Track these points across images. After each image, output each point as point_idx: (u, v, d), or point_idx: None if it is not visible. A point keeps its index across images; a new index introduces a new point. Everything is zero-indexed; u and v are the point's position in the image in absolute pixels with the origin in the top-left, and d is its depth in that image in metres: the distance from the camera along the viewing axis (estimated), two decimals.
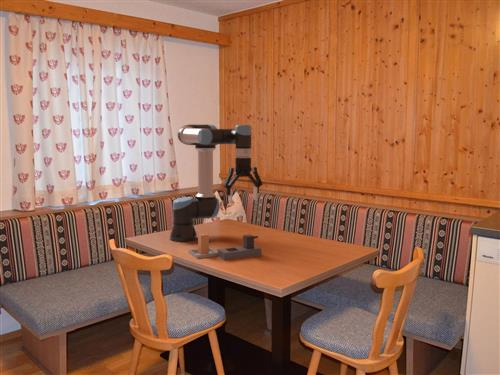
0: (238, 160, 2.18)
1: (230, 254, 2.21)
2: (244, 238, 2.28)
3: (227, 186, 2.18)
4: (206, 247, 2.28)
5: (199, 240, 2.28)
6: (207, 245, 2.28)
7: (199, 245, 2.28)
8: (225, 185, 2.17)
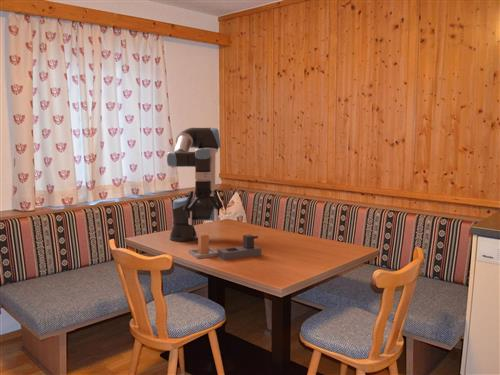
0: (197, 183, 2.22)
1: (230, 254, 2.21)
2: (244, 238, 2.28)
3: (187, 209, 2.22)
4: (206, 247, 2.28)
5: (199, 240, 2.28)
6: (207, 245, 2.28)
7: (199, 245, 2.28)
8: (184, 208, 2.21)
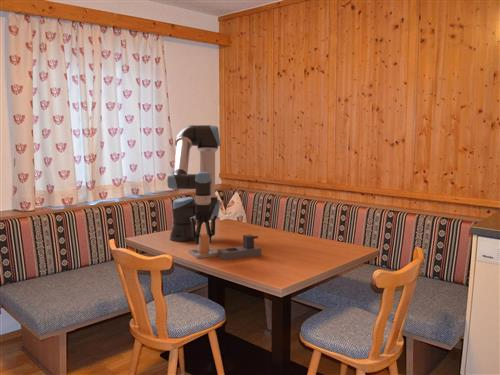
0: (198, 207, 2.23)
1: (230, 254, 2.21)
2: (244, 238, 2.28)
3: (195, 236, 2.26)
4: (206, 247, 2.28)
5: None
6: (207, 245, 2.28)
7: None
8: (193, 235, 2.24)
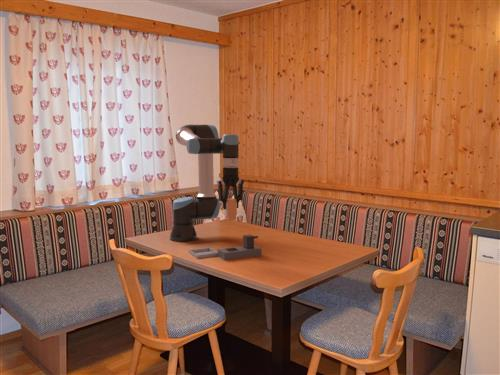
0: (225, 170, 2.17)
1: (230, 254, 2.21)
2: (244, 238, 2.28)
3: (223, 200, 2.19)
4: (233, 211, 2.21)
5: None
6: (234, 210, 2.21)
7: None
8: (220, 199, 2.18)
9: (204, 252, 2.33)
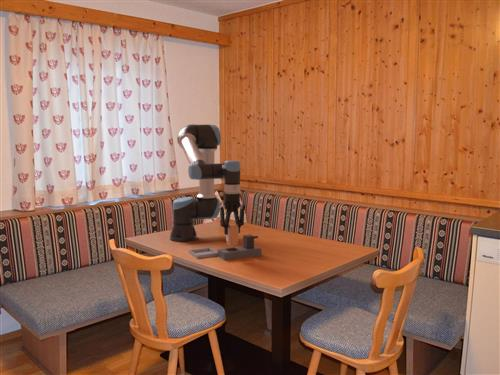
0: (227, 196, 2.19)
1: (230, 254, 2.21)
2: (244, 238, 2.28)
3: (224, 226, 2.21)
4: (235, 237, 2.23)
5: None
6: (236, 235, 2.23)
7: None
8: (222, 225, 2.20)
9: (204, 252, 2.33)
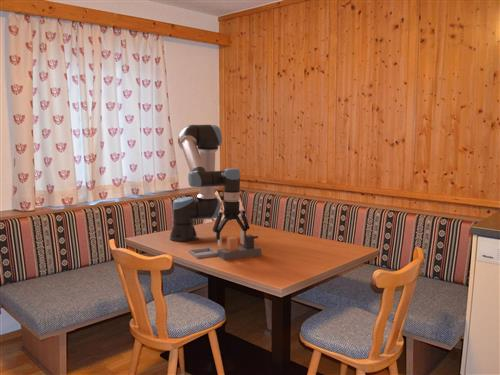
0: (226, 204, 2.19)
1: (230, 254, 2.21)
2: (244, 238, 2.28)
3: (216, 230, 2.20)
4: (235, 250, 2.24)
5: (228, 243, 2.24)
6: (236, 248, 2.24)
7: (228, 248, 2.24)
8: (214, 230, 2.18)
9: (204, 252, 2.33)
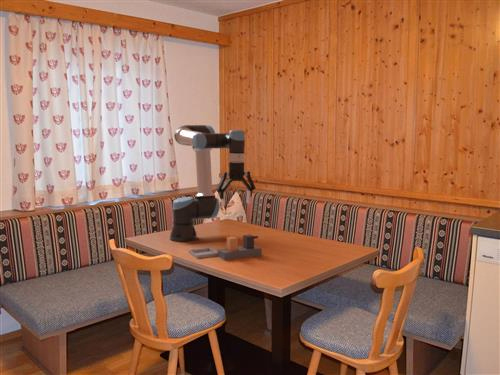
0: (231, 165, 2.23)
1: (230, 254, 2.21)
2: (244, 238, 2.28)
3: (220, 190, 2.24)
4: (235, 250, 2.24)
5: (228, 243, 2.24)
6: (236, 248, 2.24)
7: (228, 248, 2.24)
8: (218, 189, 2.22)
9: (204, 252, 2.33)
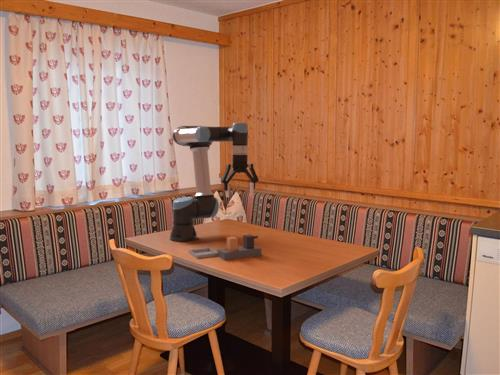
0: (235, 157, 2.27)
1: (230, 254, 2.21)
2: (244, 238, 2.28)
3: (224, 182, 2.27)
4: (235, 250, 2.24)
5: (228, 243, 2.24)
6: (236, 248, 2.24)
7: (228, 248, 2.24)
8: (222, 181, 2.26)
9: (204, 252, 2.33)
